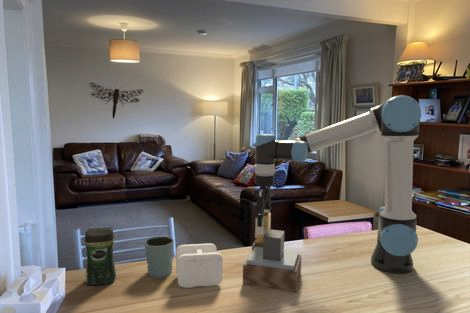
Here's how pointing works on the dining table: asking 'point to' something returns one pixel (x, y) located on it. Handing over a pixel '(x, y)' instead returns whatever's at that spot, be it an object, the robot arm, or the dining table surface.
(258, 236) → the pale yellow upright block
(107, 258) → the coffee jar
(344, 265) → the dining table surface
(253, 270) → the walnut box
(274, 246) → the cover
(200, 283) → the white rounded double-panel block
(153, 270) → the teal cup
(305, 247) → the dining table surface
